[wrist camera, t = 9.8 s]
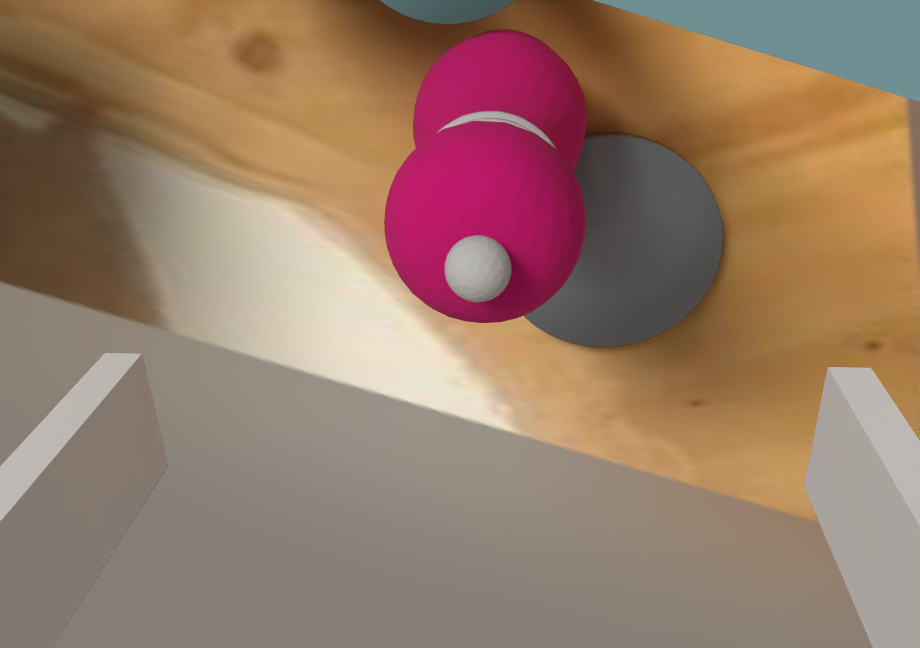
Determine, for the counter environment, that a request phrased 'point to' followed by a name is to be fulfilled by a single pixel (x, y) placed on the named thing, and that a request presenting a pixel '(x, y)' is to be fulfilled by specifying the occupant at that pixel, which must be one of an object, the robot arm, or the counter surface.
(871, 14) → the pegged blue crossbar
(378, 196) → the counter surface
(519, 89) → the pepper mill
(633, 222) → the slate coaster
